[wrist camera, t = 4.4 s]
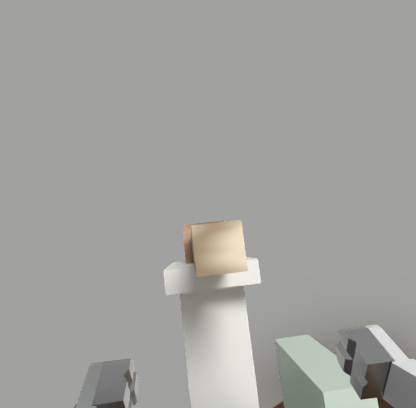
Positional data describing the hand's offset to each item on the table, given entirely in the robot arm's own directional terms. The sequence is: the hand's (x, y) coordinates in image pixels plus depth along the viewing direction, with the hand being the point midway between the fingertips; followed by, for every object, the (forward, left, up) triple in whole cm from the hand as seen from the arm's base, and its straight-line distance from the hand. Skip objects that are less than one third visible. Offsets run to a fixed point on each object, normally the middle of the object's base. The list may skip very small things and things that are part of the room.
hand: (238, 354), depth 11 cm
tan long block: (0, +14, +3) cm, 14 cm away
